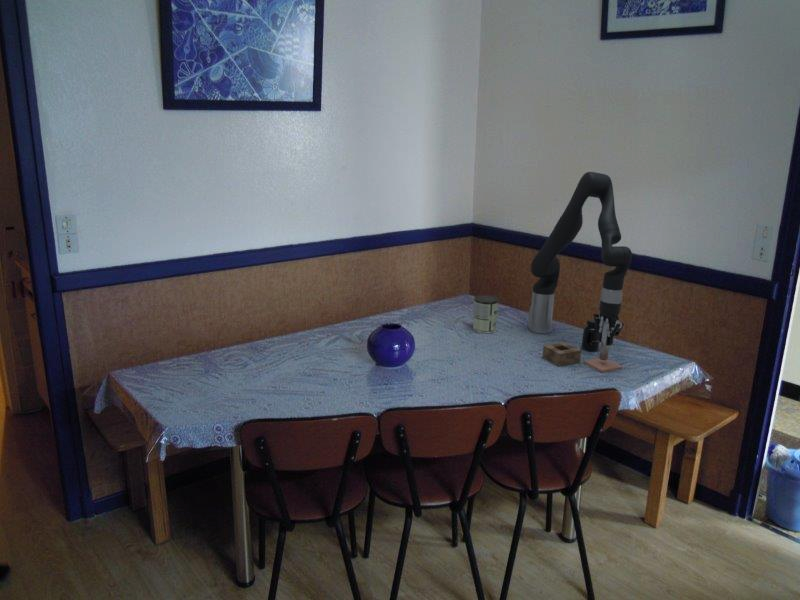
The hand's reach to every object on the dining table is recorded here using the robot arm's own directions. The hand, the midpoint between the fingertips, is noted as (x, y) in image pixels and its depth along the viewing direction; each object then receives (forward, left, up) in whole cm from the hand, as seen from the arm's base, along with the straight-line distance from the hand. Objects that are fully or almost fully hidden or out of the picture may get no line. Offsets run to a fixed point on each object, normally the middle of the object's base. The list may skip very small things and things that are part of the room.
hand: (605, 343), depth 259 cm
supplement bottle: (-16, +8, -9) cm, 20 cm away
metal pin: (0, 0, -6) cm, 6 cm away
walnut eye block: (-11, -11, -9) cm, 18 cm away
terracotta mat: (0, 0, -9) cm, 9 cm away
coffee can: (-52, -19, -9) cm, 56 cm away
